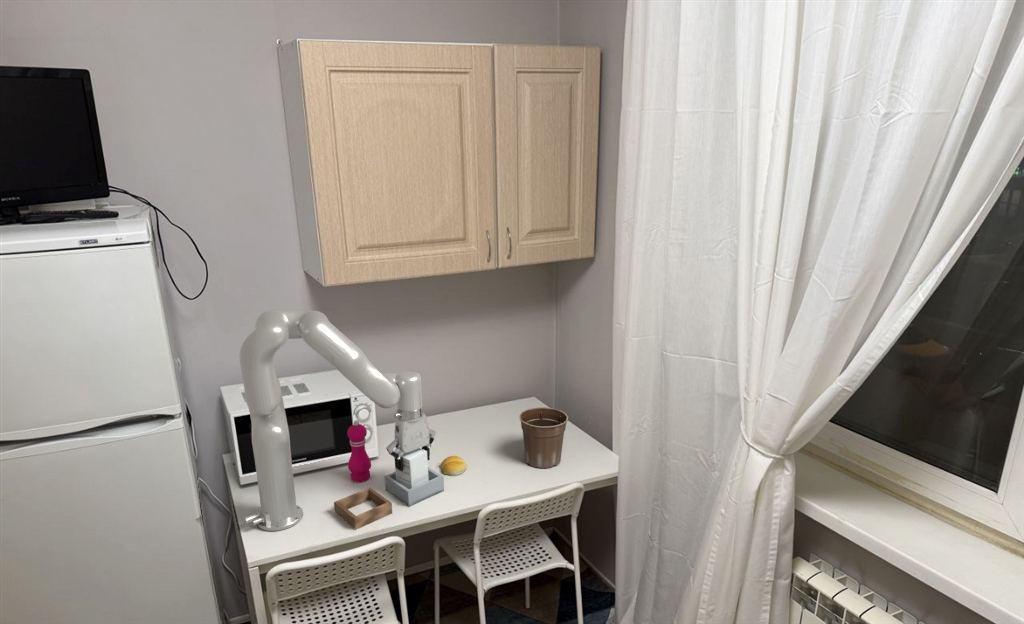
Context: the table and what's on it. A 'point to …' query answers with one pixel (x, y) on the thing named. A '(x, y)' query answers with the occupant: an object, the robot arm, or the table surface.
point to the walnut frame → (366, 517)
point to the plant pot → (543, 435)
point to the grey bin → (415, 488)
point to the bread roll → (453, 465)
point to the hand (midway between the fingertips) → (412, 464)
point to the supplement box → (413, 469)
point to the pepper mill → (358, 453)
